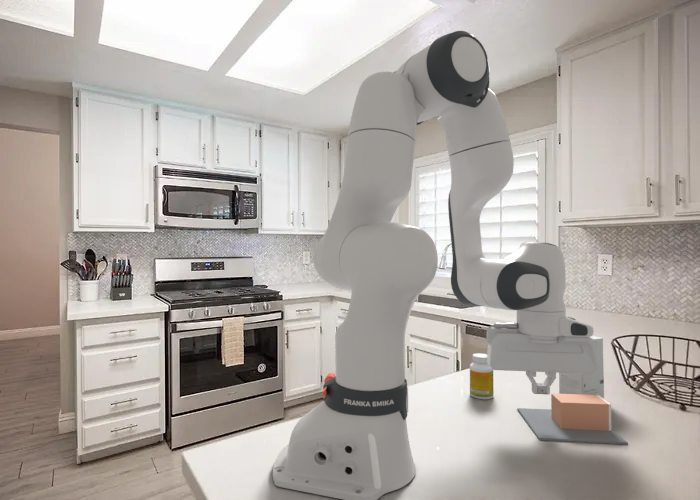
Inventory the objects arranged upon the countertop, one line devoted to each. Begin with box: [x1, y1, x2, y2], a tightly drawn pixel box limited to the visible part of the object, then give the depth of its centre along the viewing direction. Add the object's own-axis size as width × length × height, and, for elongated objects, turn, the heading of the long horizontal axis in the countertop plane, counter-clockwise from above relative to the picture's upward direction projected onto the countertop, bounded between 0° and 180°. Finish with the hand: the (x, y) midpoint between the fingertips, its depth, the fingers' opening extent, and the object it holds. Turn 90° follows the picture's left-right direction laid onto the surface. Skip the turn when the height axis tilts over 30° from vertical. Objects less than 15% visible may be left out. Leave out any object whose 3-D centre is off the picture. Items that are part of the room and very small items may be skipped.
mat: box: [516, 407, 629, 445], centre depth 80 cm, size 15×14×1 cm
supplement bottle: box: [469, 352, 494, 401], centre depth 97 cm, size 5×5×10 cm
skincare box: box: [558, 335, 605, 400], centre depth 93 cm, size 8×6×15 cm
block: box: [550, 392, 612, 431], centre depth 80 cm, size 5×5×9 cm
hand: (540, 393), depth 80 cm, fingers closed
